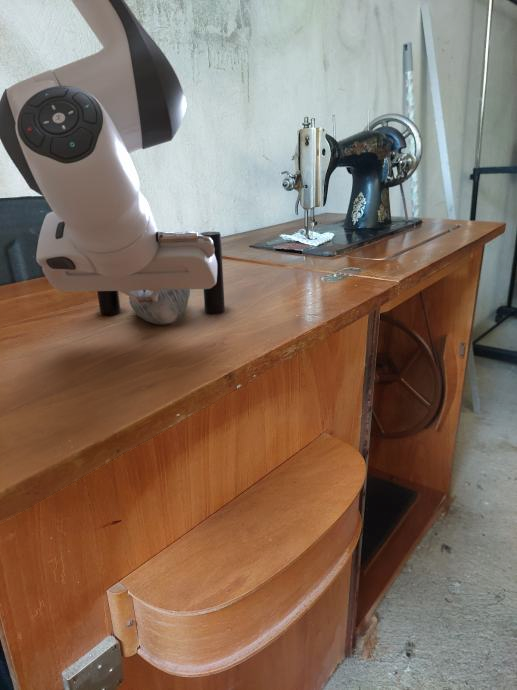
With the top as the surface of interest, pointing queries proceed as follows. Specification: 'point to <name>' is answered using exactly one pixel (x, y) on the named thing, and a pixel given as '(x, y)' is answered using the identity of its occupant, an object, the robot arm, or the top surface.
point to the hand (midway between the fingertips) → (147, 297)
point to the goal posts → (211, 296)
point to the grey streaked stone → (163, 307)
